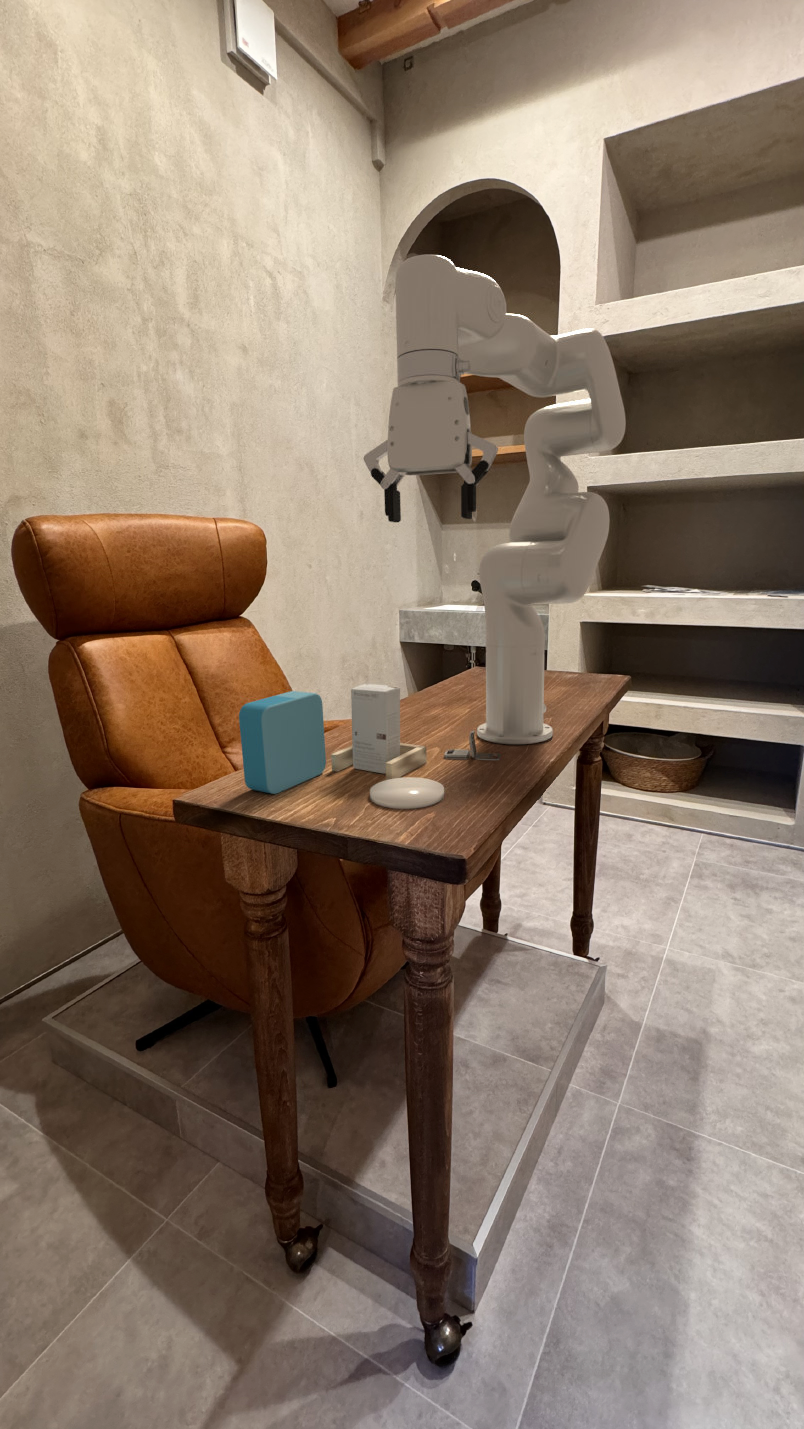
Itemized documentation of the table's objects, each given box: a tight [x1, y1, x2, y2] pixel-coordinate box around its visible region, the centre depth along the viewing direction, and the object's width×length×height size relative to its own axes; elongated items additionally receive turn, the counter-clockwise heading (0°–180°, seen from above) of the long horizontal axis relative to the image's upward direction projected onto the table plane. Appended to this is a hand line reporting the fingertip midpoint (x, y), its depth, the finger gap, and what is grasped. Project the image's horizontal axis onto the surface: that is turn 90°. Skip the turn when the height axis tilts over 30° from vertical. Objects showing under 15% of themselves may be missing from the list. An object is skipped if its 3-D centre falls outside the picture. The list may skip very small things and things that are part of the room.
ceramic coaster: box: [369, 776, 445, 810], centre depth 87 cm, size 10×10×1 cm
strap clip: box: [443, 730, 501, 761], centre depth 102 cm, size 8×3×4 cm, turn 78°
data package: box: [238, 690, 327, 795], centre depth 92 cm, size 12×4×12 cm, turn 147°
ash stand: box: [330, 742, 427, 780], centre depth 99 cm, size 10×10×2 cm
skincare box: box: [350, 683, 401, 774], centre depth 97 cm, size 6×4×12 cm
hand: (430, 520), depth 86 cm, fingers open, 9 cm apart
